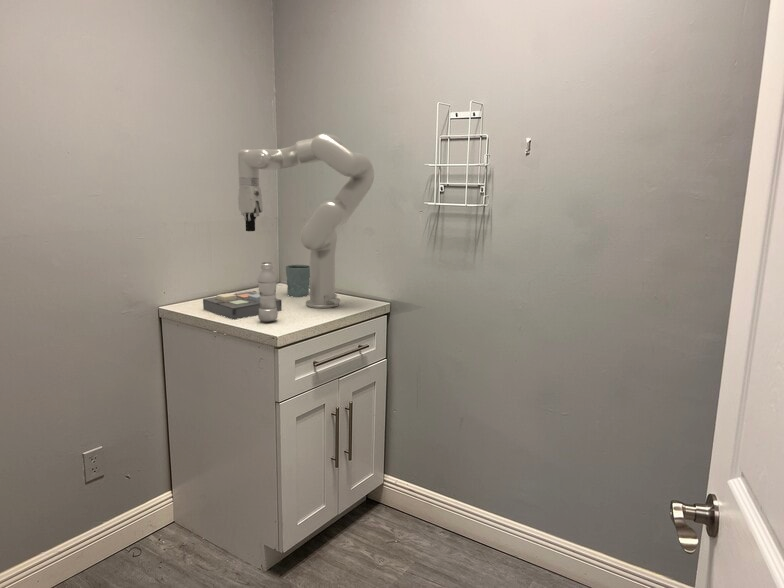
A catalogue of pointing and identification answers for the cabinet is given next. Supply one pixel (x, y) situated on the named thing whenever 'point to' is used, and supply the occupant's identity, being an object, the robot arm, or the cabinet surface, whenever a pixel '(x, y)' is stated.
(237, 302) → the sage key
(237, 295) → the terracotta key
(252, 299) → the slate key
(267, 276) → the plastic bottle
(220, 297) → the sand key
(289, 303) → the cabinet surface
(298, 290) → the teal cup
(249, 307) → the keypad
